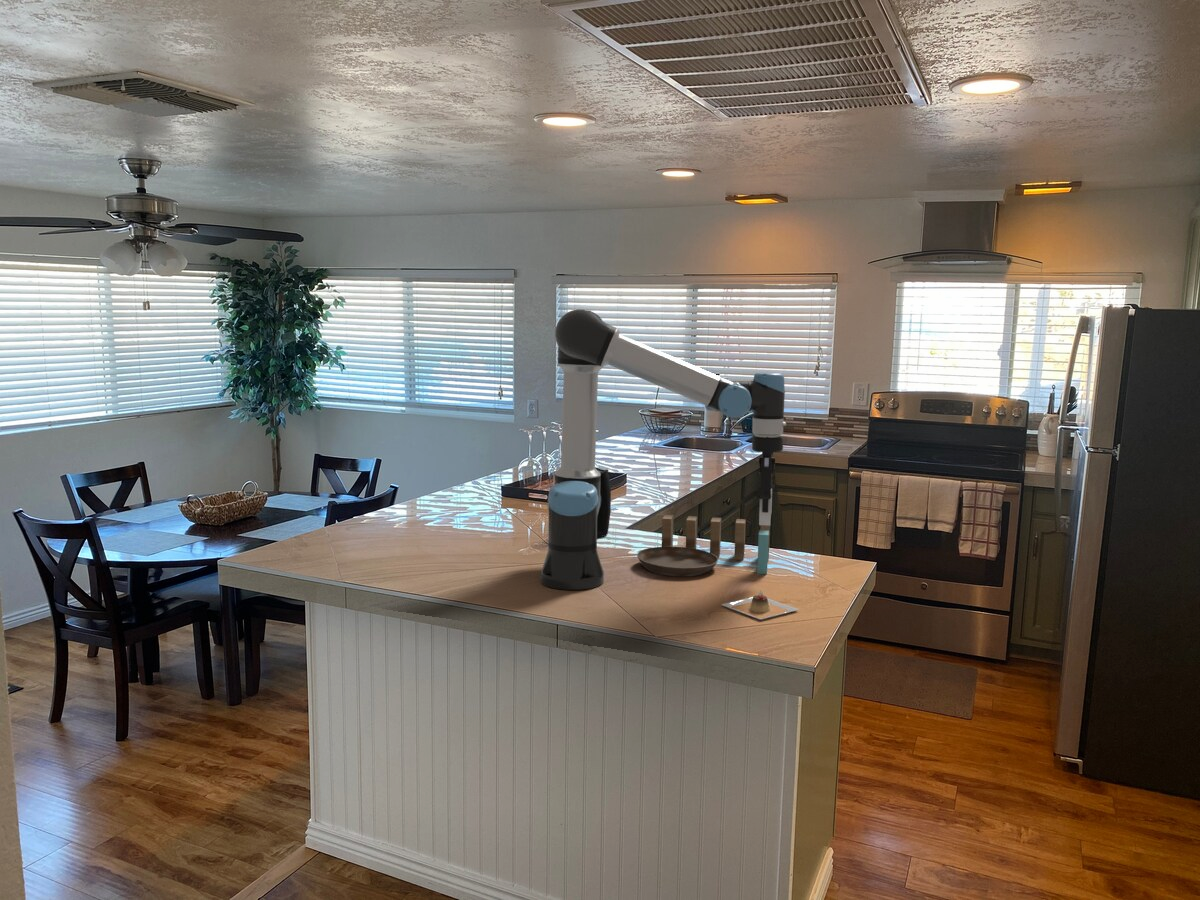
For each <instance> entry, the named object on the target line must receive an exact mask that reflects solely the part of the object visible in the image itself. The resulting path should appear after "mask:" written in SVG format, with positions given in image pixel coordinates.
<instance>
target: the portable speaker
mask: <svg viewBox="0 0 1200 900" xmlns="http://www.w3.org/2000/svg"><path fill="white" fill-rule="evenodd" d="M595 468H596V469H597V470H598V471H599V473H600V474H601V479H600V495H601V506H600V508H599V512H598V516H597V537H598V538H602V537H603V536H604V535H605V534H607V535H608V533H609V528H610V527H609V526H610V520H611V513H612V512H611V511H612V509H611V508H612V506H611V505H612V501H611V500H612V499H611V498H612V488H611V482H610V472H609V469H604V468H600V467H595Z"/></svg>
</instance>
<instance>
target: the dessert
mask: <svg viewBox="0 0 1200 900" xmlns="http://www.w3.org/2000/svg"><path fill="white" fill-rule="evenodd" d="M748 603H750V605H749V607H748V609H749V610H750V611H752V612H753V613H754V612H755V613H770V611H771V608H770V605H772V606H775V607H778V608H780V609H784V610H787V611H784V612H781V613H778V614H771V615H769V616H766V617H762V618H761V617H757V616H755V615H752V614H749V613H748V612H744V611H742V610H739V609H736V608H733V607H736V606H740V605H744V604H745V605H746V604H748ZM720 605H721V606H722V607H724V608H728V609H729V610H731V611H735V612H737V613H739V614H743V615H745V616H748V617H751V618H754V619H757V620H758V621H763V620H767V619H771V618H775V617H778V616H782V615H786V614H791V613H794V612H797V611H799V610H800V609H799V608H797V607H793V606H791V605H788V604H784V603H782V602H779V601H776V600H773V599H770V598H768V597H767V596H766V595H765V592H764V591H762V590H760V591H759V592H758V594H757V595H754V596H751V597H747V598H741V599H739V600H734V601H729V602H725V603H722V604H720Z"/></svg>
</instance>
